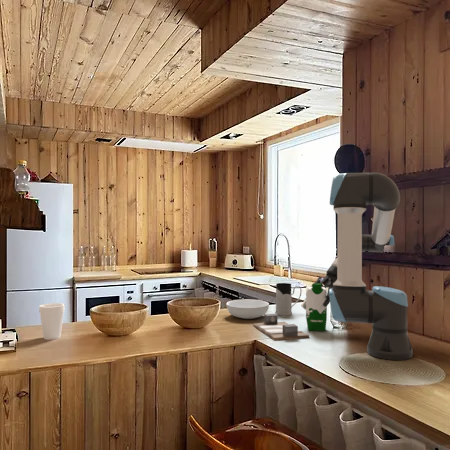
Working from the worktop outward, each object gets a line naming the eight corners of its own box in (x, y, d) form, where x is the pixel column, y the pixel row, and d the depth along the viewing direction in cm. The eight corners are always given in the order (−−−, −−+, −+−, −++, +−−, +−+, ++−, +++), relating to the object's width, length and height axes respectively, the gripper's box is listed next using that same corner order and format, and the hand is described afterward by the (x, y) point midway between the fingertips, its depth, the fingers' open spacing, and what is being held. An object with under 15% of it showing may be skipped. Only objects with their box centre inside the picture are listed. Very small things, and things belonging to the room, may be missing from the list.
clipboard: (309, 337, 181) (309, 325, 181) (274, 340, 177) (274, 327, 177) (284, 323, 205) (284, 313, 205) (253, 325, 201) (253, 314, 201)
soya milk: (306, 331, 191) (307, 284, 191) (305, 326, 200) (305, 281, 200) (327, 331, 191) (328, 284, 190) (325, 326, 200) (325, 281, 199)
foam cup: (55, 341, 175) (55, 307, 175) (34, 340, 177) (34, 306, 176) (69, 335, 184) (69, 303, 184) (48, 334, 186) (48, 302, 186)
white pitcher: (272, 312, 231) (272, 283, 231) (297, 310, 235) (297, 282, 235) (279, 315, 222) (279, 285, 222) (305, 314, 227) (305, 284, 227)
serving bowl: (219, 314, 225) (219, 301, 225) (256, 311, 234) (256, 298, 233) (237, 323, 206) (237, 308, 206) (277, 319, 215) (277, 305, 215)
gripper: (360, 278, 194) (333, 319, 186) (325, 273, 213) (298, 310, 205) (352, 267, 191) (324, 308, 183) (316, 262, 210) (289, 300, 202)
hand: (310, 309), depth 194 cm, fingers closed on soya milk, 9 cm apart
